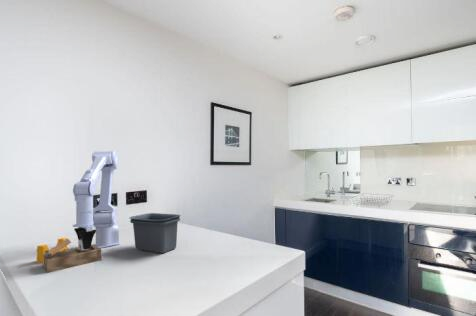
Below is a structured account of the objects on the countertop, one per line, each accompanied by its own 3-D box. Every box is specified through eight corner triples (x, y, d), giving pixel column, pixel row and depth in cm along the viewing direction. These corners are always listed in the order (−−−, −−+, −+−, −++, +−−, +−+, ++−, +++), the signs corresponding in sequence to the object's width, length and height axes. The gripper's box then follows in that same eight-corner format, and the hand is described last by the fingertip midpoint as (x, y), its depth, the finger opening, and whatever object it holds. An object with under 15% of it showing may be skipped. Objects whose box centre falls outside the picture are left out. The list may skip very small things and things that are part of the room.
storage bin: (125, 250, 113) (125, 217, 114) (153, 241, 127) (152, 211, 127) (162, 257, 103) (161, 220, 104) (187, 246, 117) (187, 213, 117)
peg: (89, 257, 105) (89, 237, 105) (91, 260, 102) (91, 239, 102) (77, 260, 102) (77, 239, 103) (79, 262, 99) (79, 241, 100)
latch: (48, 258, 93) (45, 255, 92) (46, 256, 96) (44, 253, 95) (71, 242, 98) (69, 240, 97) (69, 240, 101) (67, 238, 100)
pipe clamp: (57, 253, 113) (57, 237, 113) (66, 253, 112) (66, 237, 113) (32, 263, 101) (32, 246, 101) (43, 263, 100) (43, 246, 101)
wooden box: (94, 254, 109) (94, 240, 109) (101, 259, 102) (101, 245, 102) (43, 265, 97) (43, 250, 98) (47, 272, 90) (47, 256, 90)
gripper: (69, 211, 106) (69, 245, 105) (77, 215, 95) (77, 253, 94) (88, 209, 110) (88, 242, 110) (98, 213, 100) (98, 249, 99)
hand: (84, 247), depth 102 cm, fingers open, 6 cm apart
